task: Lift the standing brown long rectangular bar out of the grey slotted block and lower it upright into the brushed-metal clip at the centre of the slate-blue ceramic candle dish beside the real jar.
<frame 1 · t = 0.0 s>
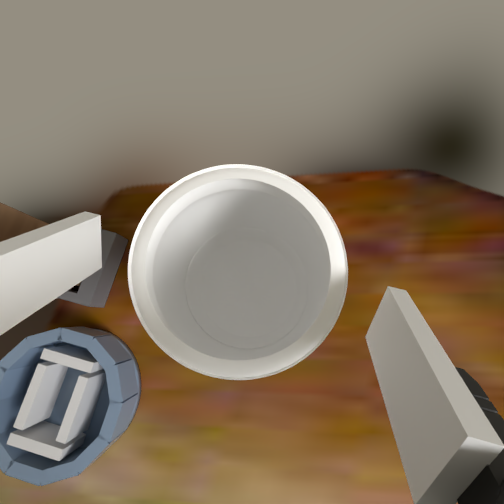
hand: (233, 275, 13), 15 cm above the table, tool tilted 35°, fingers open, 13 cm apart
brown long rectangular bar: (28, 247, 21), in the grey slotted block
grey slotted block: (90, 266, 29), on the table
jar: (249, 291, 28), on the table
candle dish: (81, 390, 27), on the table
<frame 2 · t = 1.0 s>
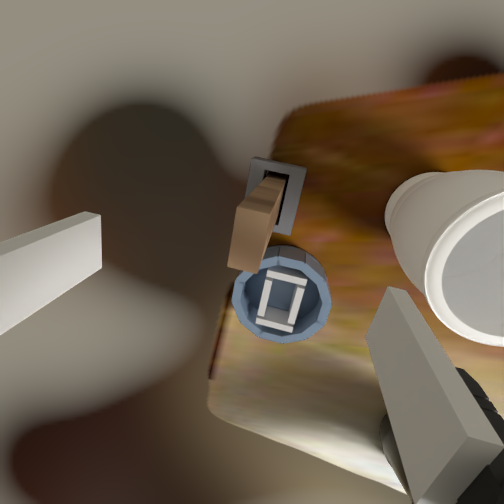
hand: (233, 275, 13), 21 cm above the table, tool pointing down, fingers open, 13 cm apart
brown long rectangular bar: (264, 210, 25), in the grey slotted block
grey slotted block: (274, 194, 32), on the table
jar: (426, 212, 31), on the table
candle dish: (282, 285, 36), on the table
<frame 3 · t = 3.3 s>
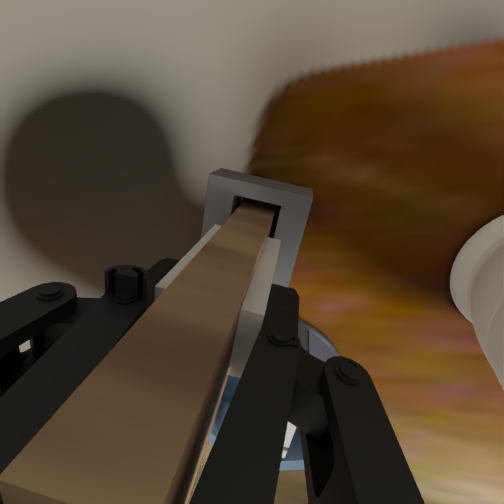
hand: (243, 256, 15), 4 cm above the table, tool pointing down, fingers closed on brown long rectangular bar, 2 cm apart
brown long rectangular bar: (223, 295, 12), in the grey slotted block, touching gripper
grey slotted block: (255, 232, 19), on the table
candle dish: (271, 370, 23), on the table
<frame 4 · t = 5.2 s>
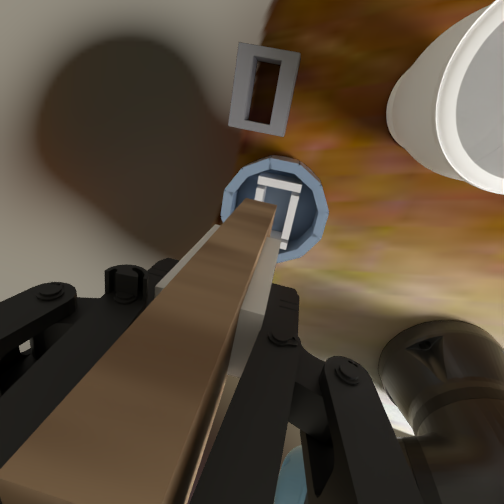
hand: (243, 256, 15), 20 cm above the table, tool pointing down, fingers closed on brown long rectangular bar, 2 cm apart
brown long rectangular bar: (223, 294, 11), point 24 cm above the table, touching gripper
grey slotted block: (265, 94, 29), on the table
jar: (431, 107, 28), on the table
candle dish: (276, 204, 34), on the table
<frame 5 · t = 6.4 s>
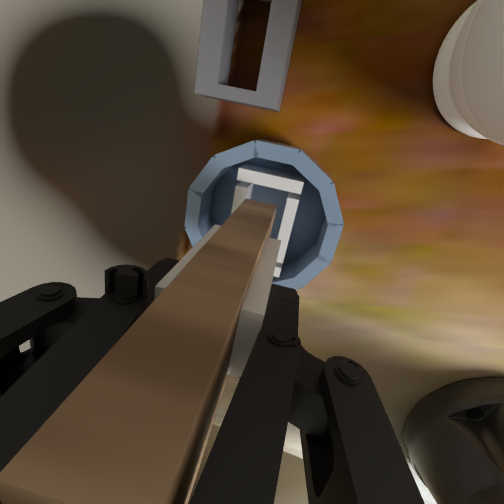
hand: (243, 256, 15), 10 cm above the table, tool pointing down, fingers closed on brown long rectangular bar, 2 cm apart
brown long rectangular bar: (223, 295, 11), point 14 cm above the table, touching gripper
grey slotted block: (251, 48, 20), on the table
jar: (503, 67, 18), on the table
candle dish: (267, 212, 24), on the table
when the fingers open (7 cm above the table, at t = 7.2 s): brown long rectangular bar drops 2 cm, resting on candle dish.
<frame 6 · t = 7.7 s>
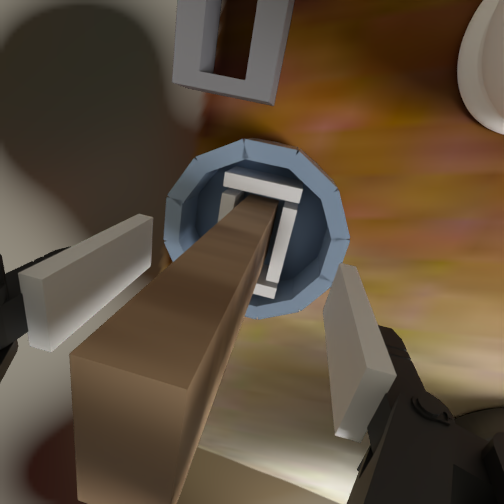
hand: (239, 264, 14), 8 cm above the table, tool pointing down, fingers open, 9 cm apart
brown long rectangular bar: (230, 273, 13), in the candle dish, point 9 cm above the table
grey slotted block: (240, 30, 17), on the table
candle dish: (260, 221, 21), on the table
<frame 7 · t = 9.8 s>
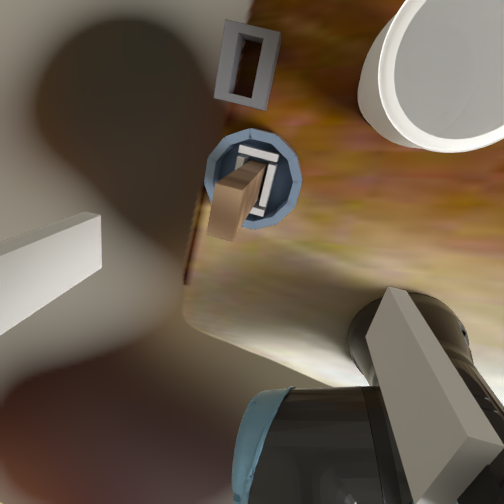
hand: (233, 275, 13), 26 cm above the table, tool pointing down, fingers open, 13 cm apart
brown long rectangular bar: (243, 191, 28), in the candle dish, point 9 cm above the table
grey slotted block: (249, 70, 32), on the table
jar: (398, 90, 31), on the table
candle dish: (257, 176, 37), on the table
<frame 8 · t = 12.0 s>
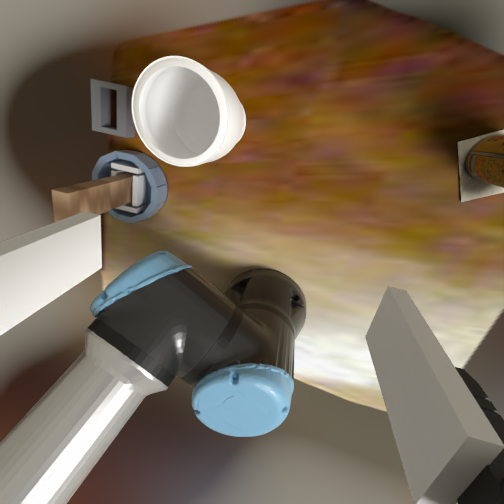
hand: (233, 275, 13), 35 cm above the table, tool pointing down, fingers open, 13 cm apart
brown long rectangular bar: (104, 194, 41), in the candle dish, point 9 cm above the table
grey slotted block: (118, 110, 45), on the table
jar: (219, 120, 44), on the table
condiment: (487, 165, 40), on the table
candle dish: (137, 184, 49), on the table
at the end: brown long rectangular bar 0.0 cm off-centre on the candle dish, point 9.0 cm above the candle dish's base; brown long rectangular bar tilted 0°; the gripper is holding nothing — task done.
